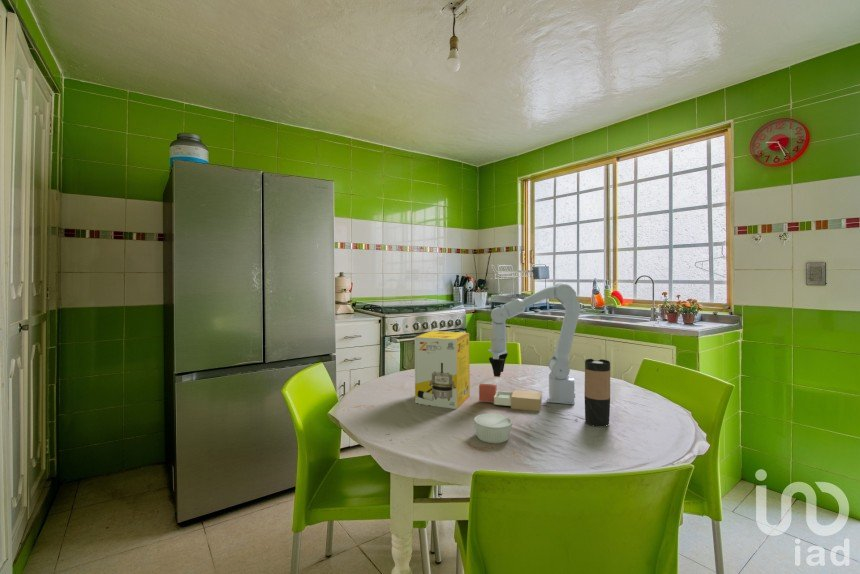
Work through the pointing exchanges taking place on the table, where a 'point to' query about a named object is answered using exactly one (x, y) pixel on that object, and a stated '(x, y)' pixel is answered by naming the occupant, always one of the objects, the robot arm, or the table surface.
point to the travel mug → (597, 392)
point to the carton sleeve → (526, 400)
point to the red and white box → (494, 395)
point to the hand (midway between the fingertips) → (498, 374)
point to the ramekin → (493, 427)
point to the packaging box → (442, 369)
